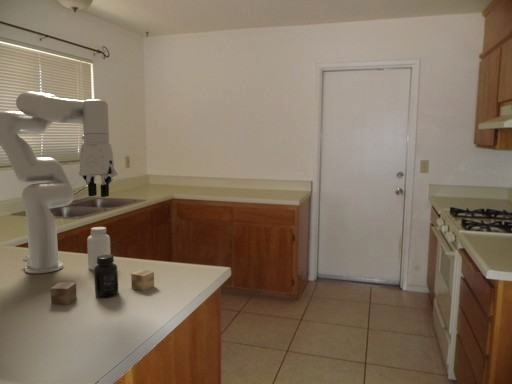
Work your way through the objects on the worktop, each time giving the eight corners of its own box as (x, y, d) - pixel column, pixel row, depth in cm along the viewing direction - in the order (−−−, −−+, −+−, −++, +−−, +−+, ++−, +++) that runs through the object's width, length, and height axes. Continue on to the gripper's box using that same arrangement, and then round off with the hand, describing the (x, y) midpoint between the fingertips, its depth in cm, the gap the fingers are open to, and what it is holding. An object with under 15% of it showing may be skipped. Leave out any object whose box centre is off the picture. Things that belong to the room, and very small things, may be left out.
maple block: (131, 288, 134) (131, 273, 133) (142, 283, 138) (142, 269, 138) (143, 291, 132) (143, 276, 131) (154, 286, 136) (153, 271, 135)
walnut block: (51, 305, 120) (50, 288, 119) (60, 298, 125) (59, 282, 124) (68, 305, 120) (67, 288, 119) (76, 298, 125) (75, 282, 124)
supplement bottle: (121, 290, 132) (120, 253, 131) (114, 298, 125) (113, 259, 124) (99, 290, 132) (97, 253, 130) (91, 298, 125) (90, 259, 124)
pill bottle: (115, 265, 158) (114, 226, 156) (102, 271, 150) (100, 231, 149) (97, 263, 160) (95, 225, 158) (83, 269, 153) (81, 229, 151)
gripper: (66, 139, 132) (69, 196, 134) (111, 139, 127) (113, 199, 129) (83, 139, 139) (85, 193, 141) (126, 139, 134) (127, 196, 136)
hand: (98, 195), depth 135 cm, fingers open, 4 cm apart
